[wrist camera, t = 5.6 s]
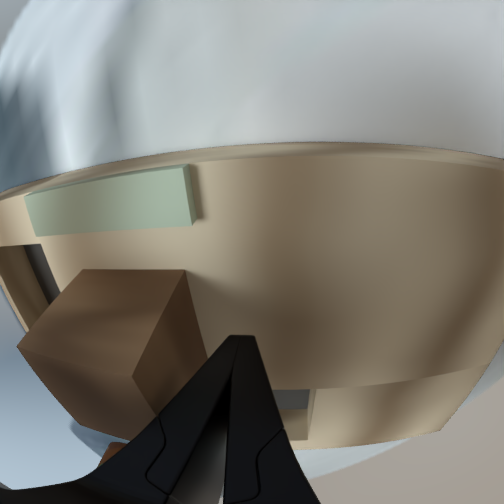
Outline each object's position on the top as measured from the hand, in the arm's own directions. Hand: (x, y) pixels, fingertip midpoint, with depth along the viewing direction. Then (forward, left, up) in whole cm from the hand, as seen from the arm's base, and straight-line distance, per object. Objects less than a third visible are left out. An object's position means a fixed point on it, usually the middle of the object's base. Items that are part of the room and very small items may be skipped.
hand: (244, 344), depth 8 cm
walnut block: (+4, 0, -1) cm, 4 cm away
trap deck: (+1, +3, -4) cm, 5 cm away
